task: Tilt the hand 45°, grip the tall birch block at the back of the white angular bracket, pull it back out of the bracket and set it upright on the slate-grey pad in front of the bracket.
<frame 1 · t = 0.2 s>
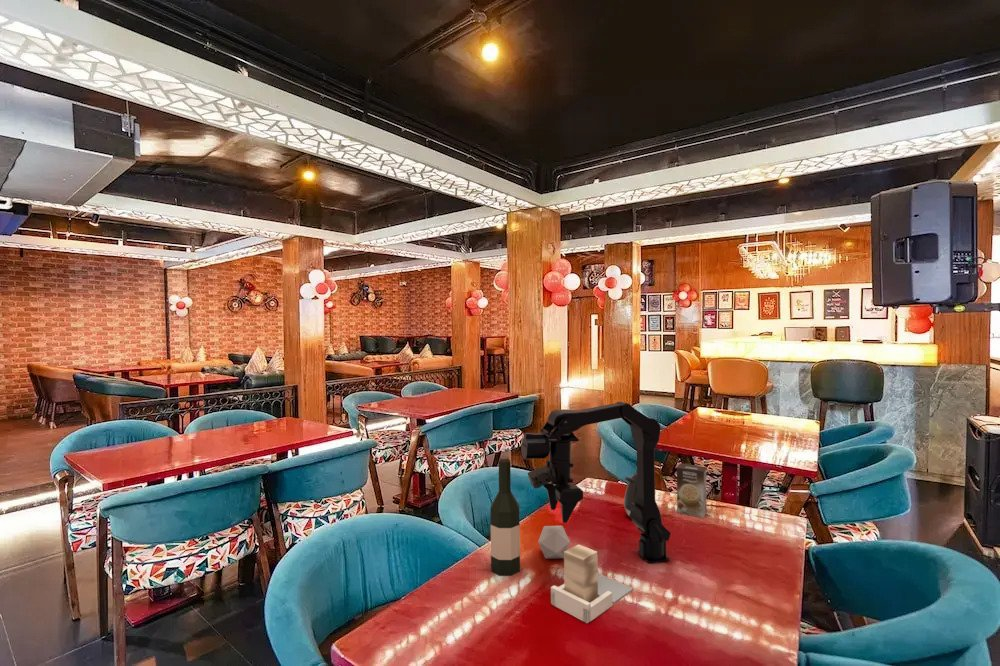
hand: (558, 515, 127), 14 cm above the table, tool pointing down, fingers open, 9 cm apart
birch block: (581, 605, 111), on the table
coffee box: (691, 513, 166), on the table
white angular bracket: (581, 605, 111), on the table
grey pad: (606, 588, 118), on the table
wine bottle: (505, 569, 128), on the table
die: (554, 556, 135), on the table
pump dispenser: (639, 518, 162), on the table
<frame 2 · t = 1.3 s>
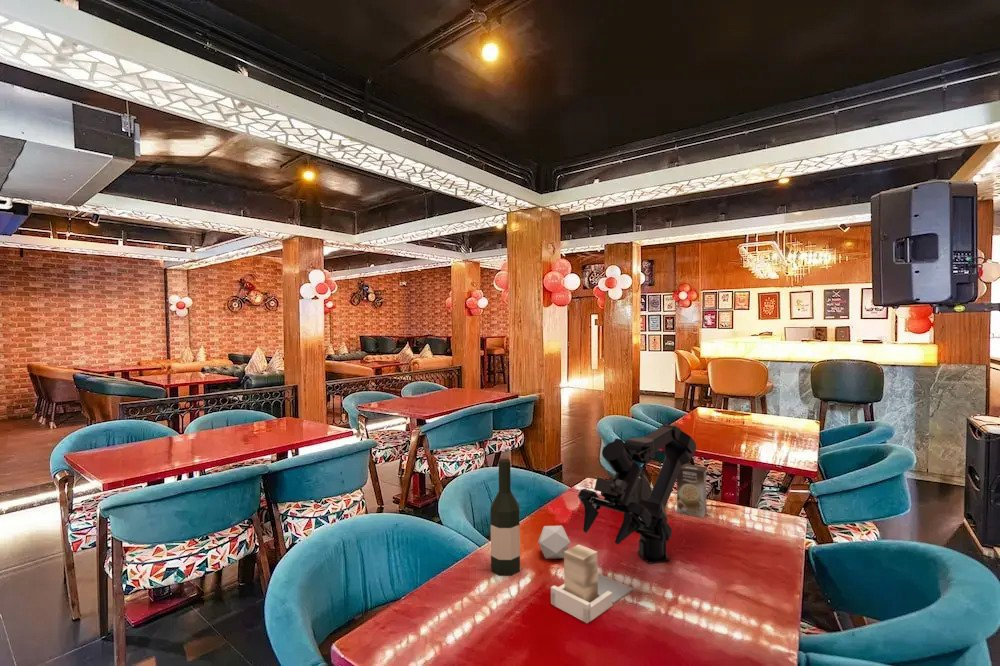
hand: (600, 537, 116), 13 cm above the table, tool tilted 45°, fingers open, 9 cm apart
nothing on the table moved.
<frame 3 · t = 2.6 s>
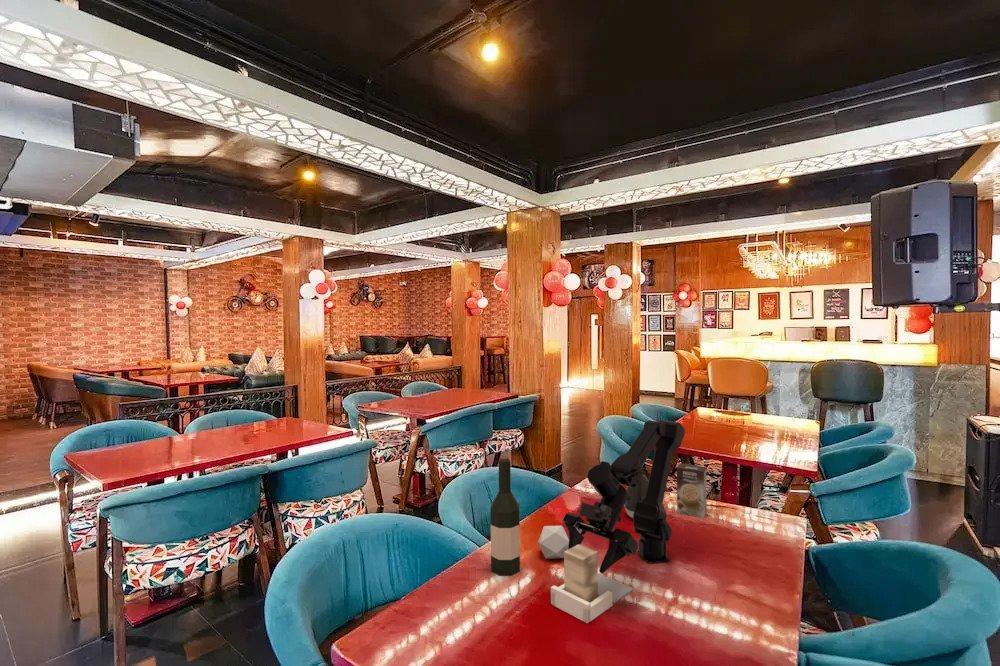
hand: (584, 565, 111), 9 cm above the table, tool tilted 45°, fingers open, 9 cm apart
nothing on the table moved.
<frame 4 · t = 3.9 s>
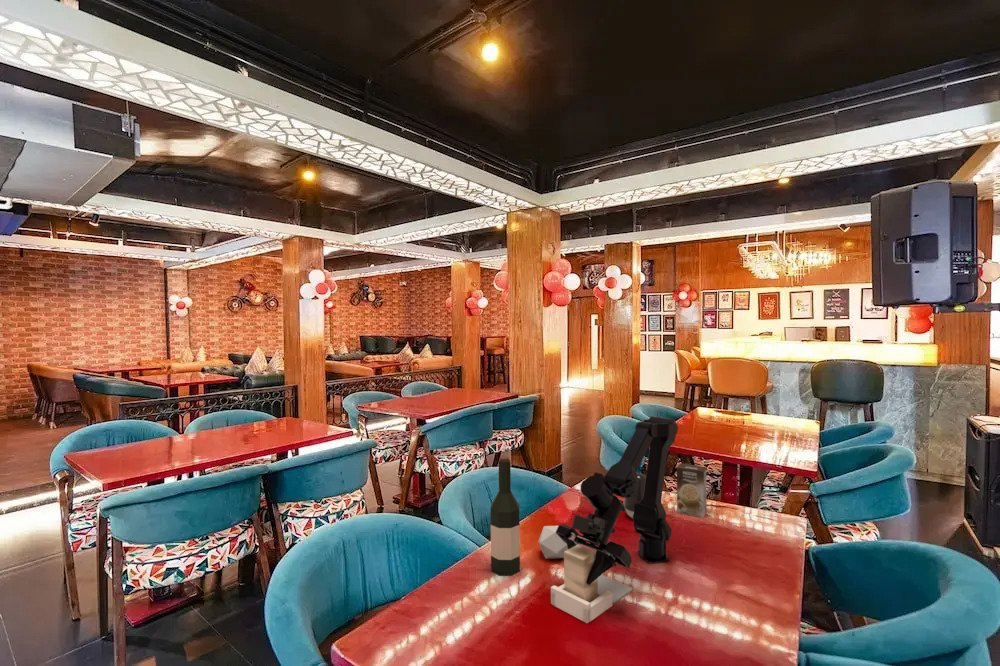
hand: (577, 579, 110), 7 cm above the table, tool tilted 45°, fingers closed on birch block, 5 cm apart
birch block: (581, 605, 111), on the table, touching gripper
everything else where it was.
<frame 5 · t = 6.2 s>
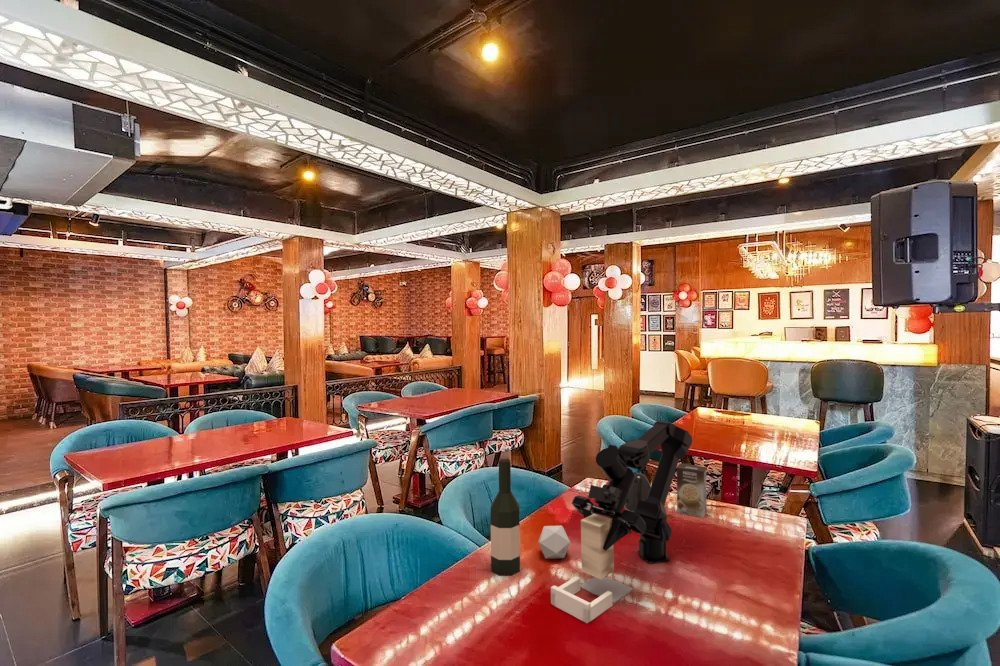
hand: (594, 545, 114), 12 cm above the table, tool tilted 45°, fingers closed on birch block, 5 cm apart
birch block: (597, 571, 115), point 6 cm above the table, touching gripper
everything else where it was.
when the fingers open (8 cm above the table, at t = 8.3 s): birch block drops 1 cm, resting on grey pad.
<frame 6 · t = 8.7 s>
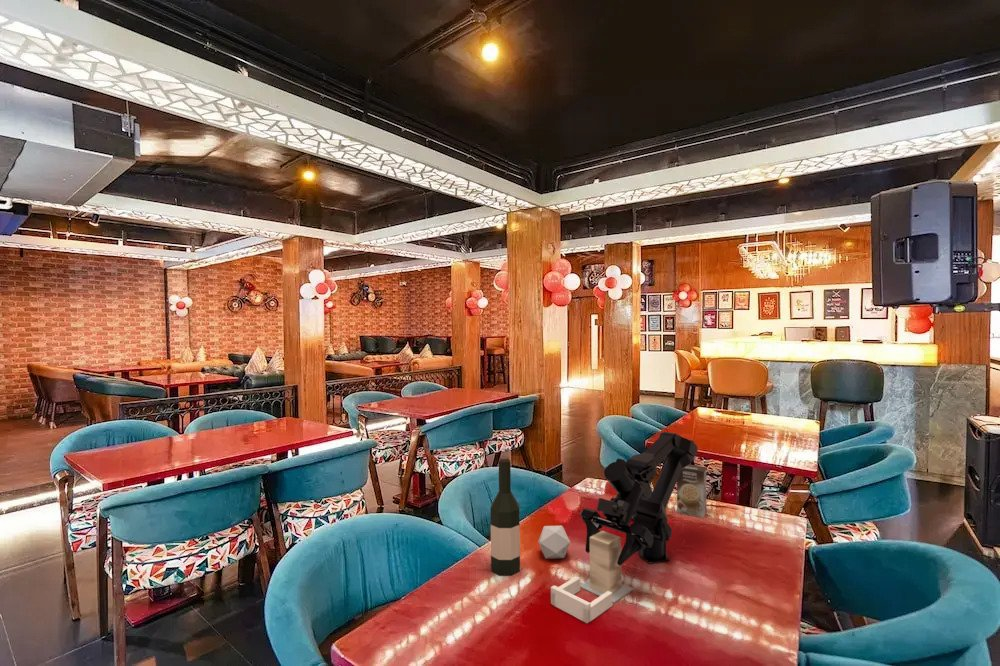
hand: (602, 558, 117), 8 cm above the table, tool tilted 45°, fingers open, 9 cm apart
birch block: (605, 587, 118), resting on grey pad
everything else where it was.
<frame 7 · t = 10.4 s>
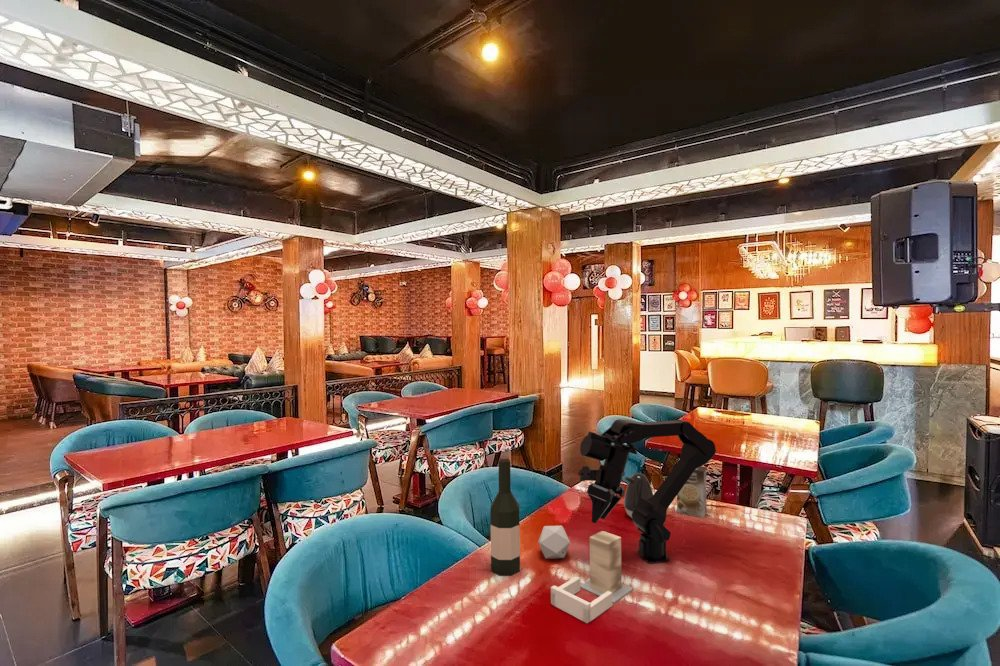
hand: (598, 520, 129), 12 cm above the table, tool tilted 20°, fingers open, 9 cm apart
nothing on the table moved.
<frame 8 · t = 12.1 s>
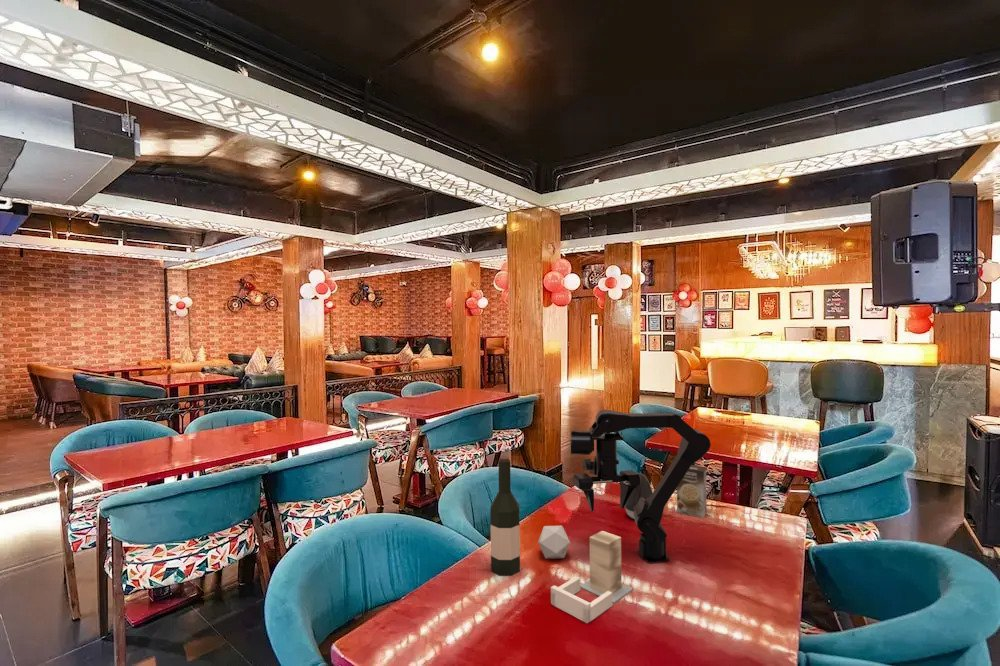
hand: (607, 509, 135), 13 cm above the table, tool pointing down, fingers open, 9 cm apart
nothing on the table moved.
at the end: birch block 0.2 cm from the grey pad (horizontally); birch block tilted 0°; the gripper is holding nothing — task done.
